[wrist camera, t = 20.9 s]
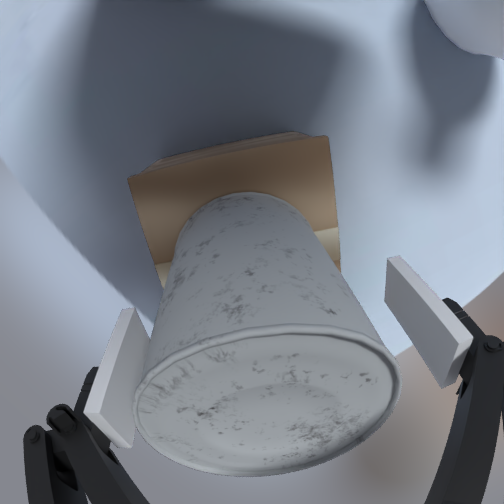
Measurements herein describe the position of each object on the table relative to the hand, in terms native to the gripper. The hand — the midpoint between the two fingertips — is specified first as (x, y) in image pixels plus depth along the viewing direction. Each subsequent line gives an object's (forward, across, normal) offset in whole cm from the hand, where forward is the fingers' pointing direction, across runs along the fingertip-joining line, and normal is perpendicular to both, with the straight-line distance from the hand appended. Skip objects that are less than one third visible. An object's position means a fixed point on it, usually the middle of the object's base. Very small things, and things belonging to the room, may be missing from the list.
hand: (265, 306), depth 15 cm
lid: (+7, 0, 0) cm, 7 cm away
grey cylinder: (+6, -1, 0) cm, 6 cm away
